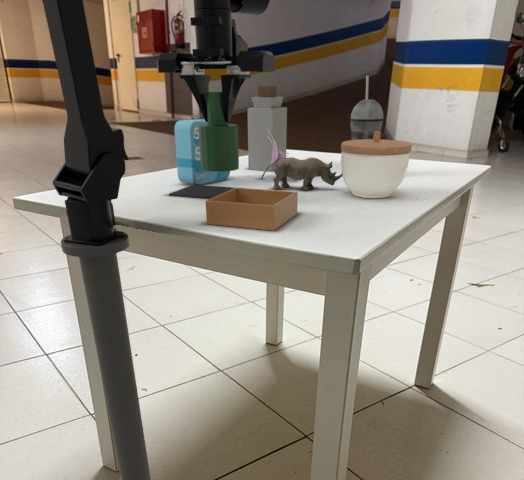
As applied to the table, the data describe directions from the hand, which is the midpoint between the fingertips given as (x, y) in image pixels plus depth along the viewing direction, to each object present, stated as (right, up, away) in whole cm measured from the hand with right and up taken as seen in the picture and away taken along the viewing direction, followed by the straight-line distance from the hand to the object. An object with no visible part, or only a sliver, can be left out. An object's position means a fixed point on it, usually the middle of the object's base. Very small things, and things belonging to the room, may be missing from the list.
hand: (217, 121), depth 84 cm
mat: (-4, -8, +13) cm, 16 cm away
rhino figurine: (+17, -6, +16) cm, 24 cm away
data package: (-5, -2, +23) cm, 24 cm away
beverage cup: (+30, +1, +30) cm, 43 cm away
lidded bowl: (+28, -9, +11) cm, 32 cm away
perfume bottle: (+9, +6, +39) cm, 41 cm away
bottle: (0, -7, +4) cm, 8 cm away
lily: (+11, -1, +26) cm, 28 cm away
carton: (+6, -18, -5) cm, 20 cm away
